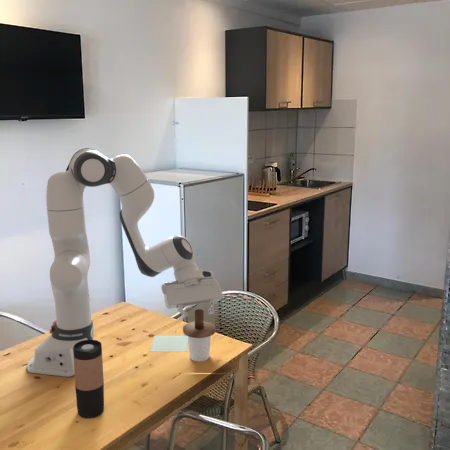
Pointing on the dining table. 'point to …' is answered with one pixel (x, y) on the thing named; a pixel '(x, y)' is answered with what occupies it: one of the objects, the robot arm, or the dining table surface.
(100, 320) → the dining table surface
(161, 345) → the mat
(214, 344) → the dining table surface
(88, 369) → the travel mug
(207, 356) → the white cup
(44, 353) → the robot arm
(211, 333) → the lid
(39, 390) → the dining table surface
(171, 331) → the dining table surface
